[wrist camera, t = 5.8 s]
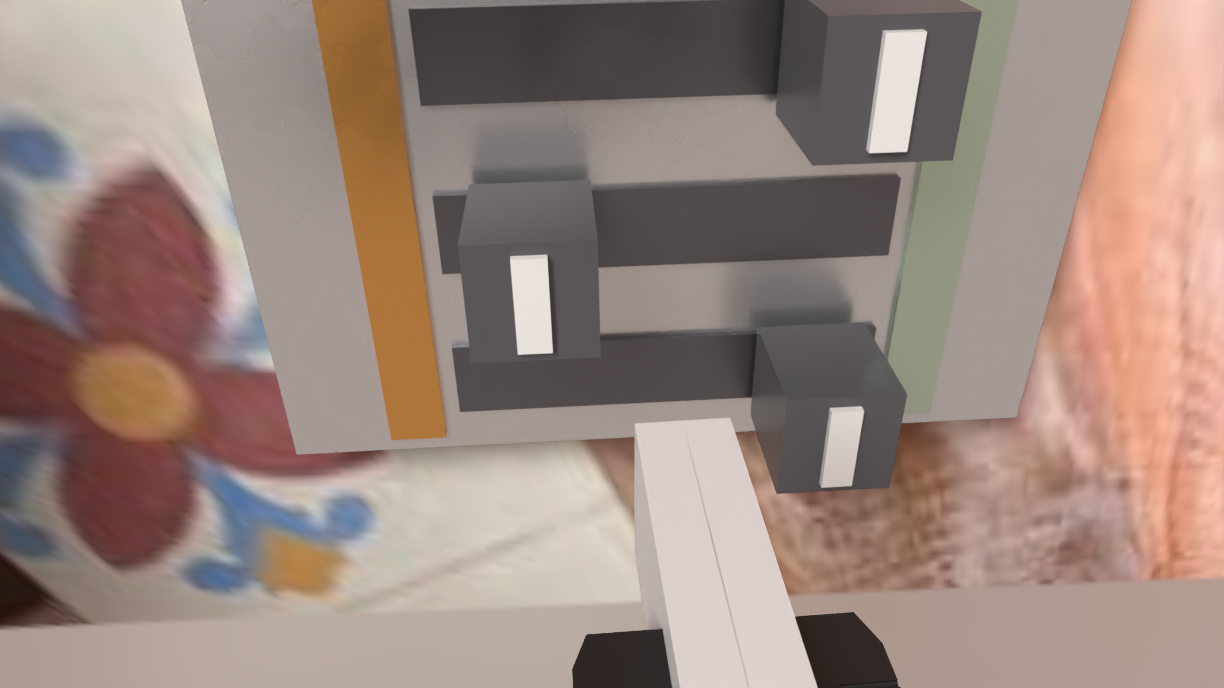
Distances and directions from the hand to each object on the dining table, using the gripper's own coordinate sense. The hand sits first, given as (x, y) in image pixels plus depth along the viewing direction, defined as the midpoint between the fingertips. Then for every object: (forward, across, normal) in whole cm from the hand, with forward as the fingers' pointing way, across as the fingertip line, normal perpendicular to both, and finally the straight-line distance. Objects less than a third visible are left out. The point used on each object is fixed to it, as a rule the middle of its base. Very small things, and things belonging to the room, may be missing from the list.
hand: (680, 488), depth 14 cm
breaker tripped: (+10, -2, 0) cm, 10 cm away
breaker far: (+10, +5, -5) cm, 12 cm away
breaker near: (+10, +5, +4) cm, 12 cm away
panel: (+13, +1, 0) cm, 13 cm away
